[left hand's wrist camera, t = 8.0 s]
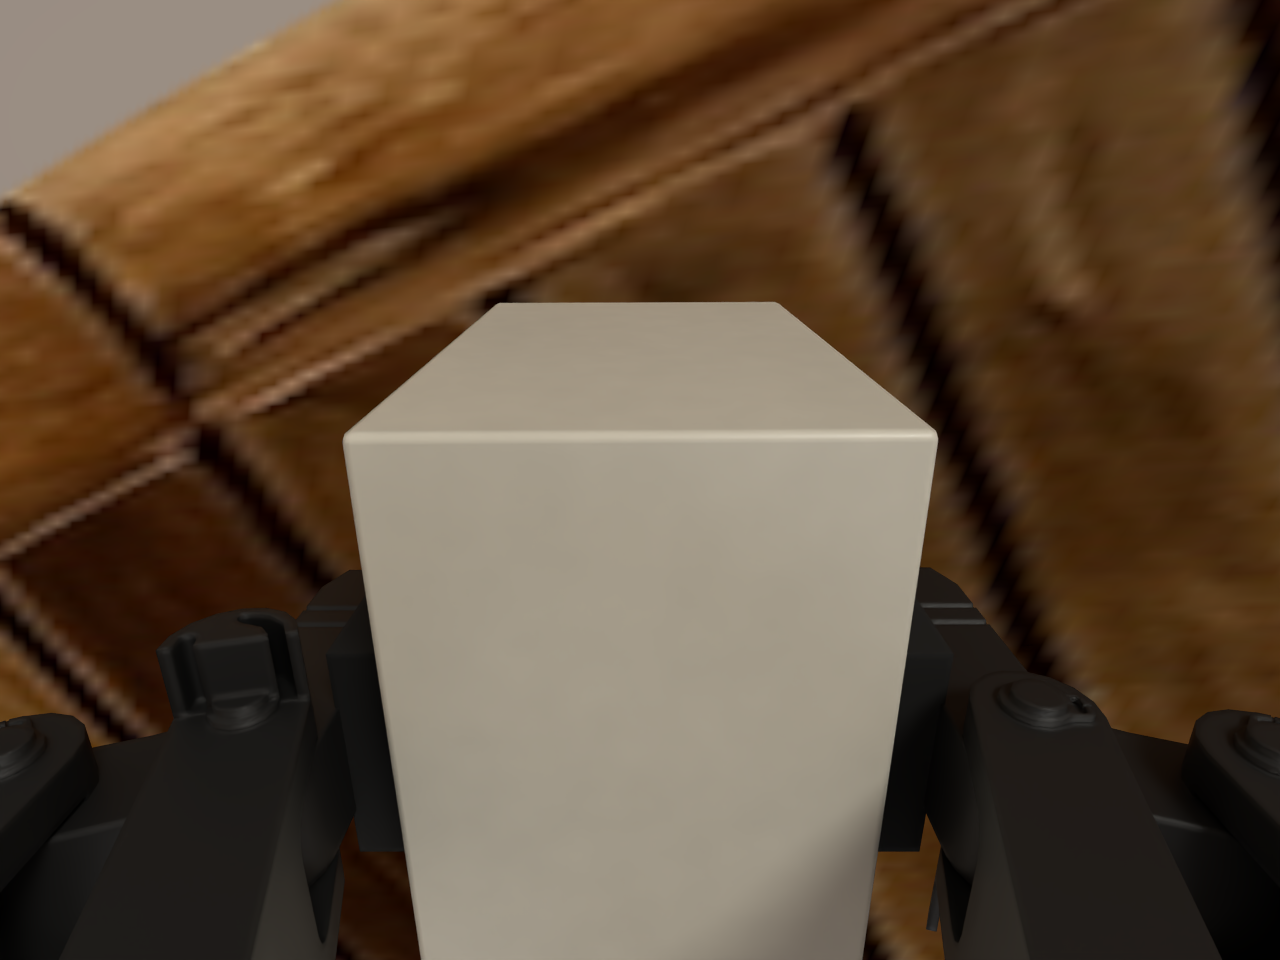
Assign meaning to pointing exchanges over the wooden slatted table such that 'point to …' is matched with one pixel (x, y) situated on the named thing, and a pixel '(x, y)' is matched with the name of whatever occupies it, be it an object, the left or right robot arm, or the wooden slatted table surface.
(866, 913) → the beam
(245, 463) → the wooden slatted table surface
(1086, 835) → the left robot arm
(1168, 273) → the wooden slatted table surface
